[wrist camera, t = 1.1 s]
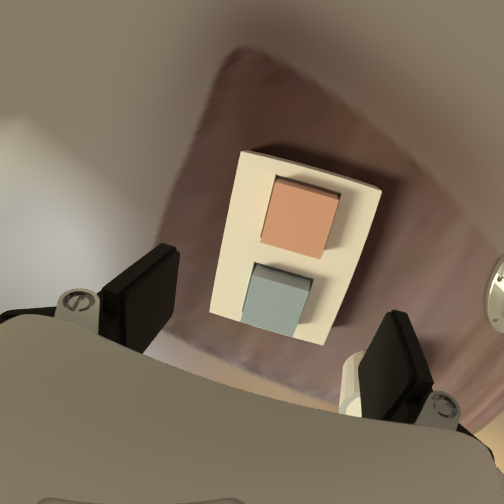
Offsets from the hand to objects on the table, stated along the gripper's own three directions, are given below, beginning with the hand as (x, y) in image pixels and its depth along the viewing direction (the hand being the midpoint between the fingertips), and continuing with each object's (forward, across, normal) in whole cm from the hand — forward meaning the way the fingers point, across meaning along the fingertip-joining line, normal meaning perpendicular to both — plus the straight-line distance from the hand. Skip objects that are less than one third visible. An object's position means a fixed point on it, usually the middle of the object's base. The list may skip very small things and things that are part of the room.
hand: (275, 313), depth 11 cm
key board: (+18, 0, +4) cm, 19 cm away
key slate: (+15, 0, +8) cm, 17 cm away
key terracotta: (+15, 0, 0) cm, 15 cm away
